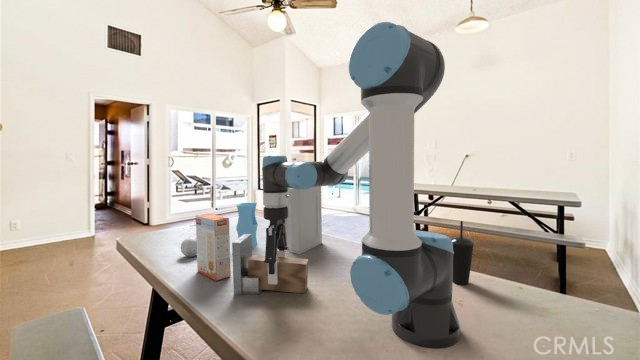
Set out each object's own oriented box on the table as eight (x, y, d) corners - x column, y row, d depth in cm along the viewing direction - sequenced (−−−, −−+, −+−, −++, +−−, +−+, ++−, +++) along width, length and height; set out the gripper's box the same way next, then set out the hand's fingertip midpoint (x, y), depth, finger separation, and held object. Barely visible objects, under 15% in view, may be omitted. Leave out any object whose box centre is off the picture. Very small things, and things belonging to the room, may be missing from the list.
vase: (254, 248, 134) (252, 205, 132) (237, 248, 134) (235, 205, 132) (258, 243, 141) (256, 202, 140) (241, 243, 142) (240, 202, 140)
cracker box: (232, 276, 101) (230, 217, 100) (215, 282, 97) (213, 220, 95) (212, 267, 111) (210, 212, 109) (197, 271, 106) (194, 214, 105)
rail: (307, 286, 92) (308, 259, 92) (305, 293, 88) (306, 264, 87) (252, 281, 94) (253, 254, 94) (247, 288, 90) (248, 259, 89)
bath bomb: (203, 256, 123) (202, 238, 122) (182, 260, 118) (181, 241, 118) (199, 252, 129) (198, 234, 129) (179, 255, 125) (178, 237, 124)
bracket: (257, 295, 87) (256, 243, 86) (233, 294, 88) (232, 242, 86) (267, 281, 97) (266, 234, 96) (245, 281, 97) (244, 234, 96)
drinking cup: (472, 289, 89) (474, 225, 88) (445, 283, 93) (446, 222, 92) (474, 280, 96) (476, 220, 95) (449, 275, 100) (450, 218, 99)
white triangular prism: (297, 238, 149) (296, 184, 147) (322, 242, 141) (321, 185, 139) (273, 248, 133) (271, 187, 131) (300, 254, 125) (298, 189, 123)
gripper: (278, 212, 78) (280, 293, 79) (294, 200, 100) (296, 264, 102) (251, 212, 79) (253, 292, 80) (273, 200, 101) (275, 263, 102)
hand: (277, 276), depth 91 cm, fingers open, 10 cm apart
